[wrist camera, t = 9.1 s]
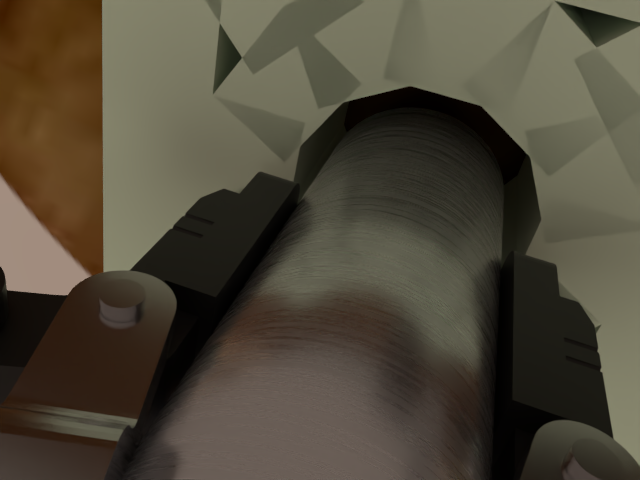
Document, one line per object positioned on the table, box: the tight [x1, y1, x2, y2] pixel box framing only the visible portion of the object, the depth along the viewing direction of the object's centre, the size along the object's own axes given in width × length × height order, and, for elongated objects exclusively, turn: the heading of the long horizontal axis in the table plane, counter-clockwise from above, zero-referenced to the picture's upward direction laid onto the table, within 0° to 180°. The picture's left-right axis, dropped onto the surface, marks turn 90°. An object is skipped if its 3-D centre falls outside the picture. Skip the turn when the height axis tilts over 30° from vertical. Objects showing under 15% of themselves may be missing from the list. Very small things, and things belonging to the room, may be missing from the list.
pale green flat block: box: [102, 0, 640, 466], centre depth 15 cm, size 14×14×5 cm
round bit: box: [122, 107, 504, 480], centre depth 8 cm, size 4×4×12 cm
